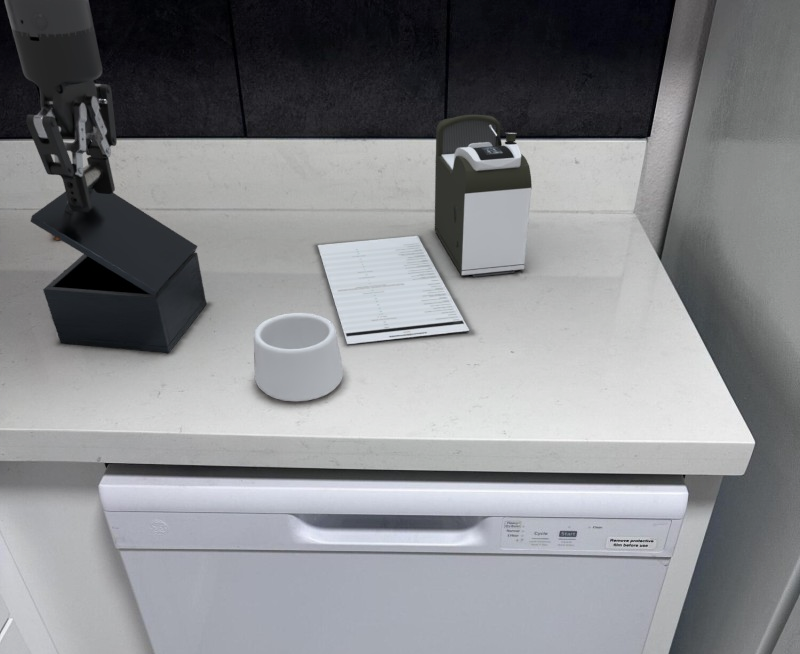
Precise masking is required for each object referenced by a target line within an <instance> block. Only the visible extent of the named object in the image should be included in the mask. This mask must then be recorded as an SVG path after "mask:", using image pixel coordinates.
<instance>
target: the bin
mask: <svg viewBox="0 0 800 654" xmlns="http://www.w3.org/2000/svg"><path fill="white" fill-rule="evenodd" d="M203 283H204V282H203V278H202V272H201V267H200V262H199V255H198V252H196V251H195V252H194V253H193V254H192V256H191V257H190V258H189V259H188V260H187V261H186V262H185V263H184V265H183V266H182V267H181V268H180V269H179V270H178V271H177V272H176V273H175V275H174V276H173V277H172V278H171V279H170V280H169V281H168V282H167V283H166V285H165V286H164V287H163V288H162V289H161V290H160V291H159V292H158V293H157V295H156V296H155V297H154V296H152V295H151V294H149V293H147V292H146V291H144V290H142V289H141V288H139V287H137V286H136V285H134V284H133V283H131V282H129V281H128V280H126V279H124V278H123V277H121V276H119V275H118V274H116V273H114V272H113V271H111V270H109V269H108V268H106V267H104V266H103V265H101V264H100V263H98V262H96V261H95V260H93V259H91V258H90V257H88V256H86V255H85V254H83V253H82V255H81V256H80V257H78V258H77V259H76V260H75V261H74V262H73V263H72V264H70V265H69V266H68V267H67V268H66V269H64V270H63V272H61V273H60V274H59V275H58V276H57V277H55V278H54V279H53V280H52V281H51V282H49V283H48V284H47V285H46V286H45V287H44V288H43V289H42V292H43V294H44V297H45V300H46V304H47V306H48V310H49V312H50V315H51V319H52V322H53V324H54V327H55V331H56V333H57V337H58V340H59V342H60V344H62V345H63V344H64V345H75V346H85V347H86V346H87V347H95V348H96V347H97V348H109V349H119V350H120V349H122V350H132V351H142V352H143V351H144V352H155V353H166V354H169V353H170V352H171V351H172V349H173V348H174V347H175V346H176V345H177V343H178V342H179V340H180V339H181V338H182V337H183V335H184V334H185V333H186V331H187V330H188V329H189V328H190V326H191V325H192V323H194V321H195V320H196V319H197V317H198V316H199V315H200V314H201V312H202V311H203V309H204V308H205V307H206V306H207V299H206V294H205V288H204V284H203Z"/></svg>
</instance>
